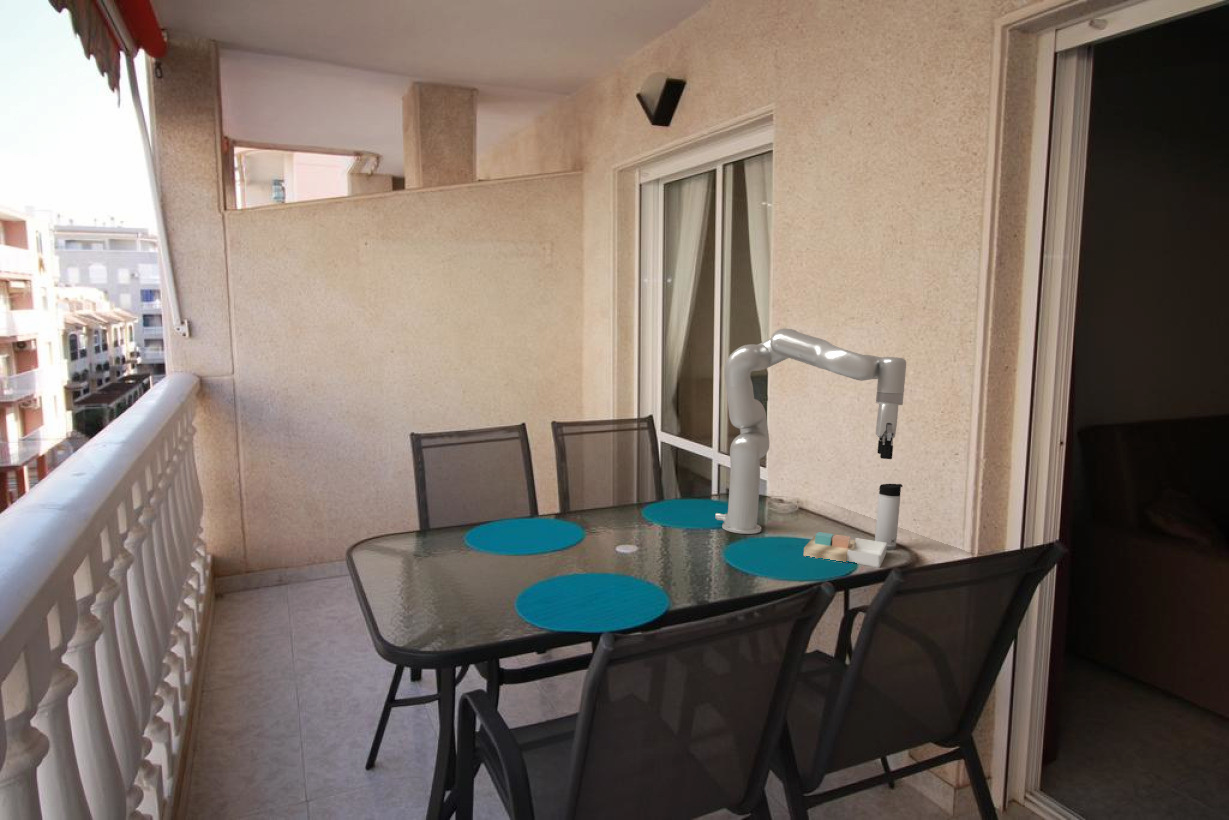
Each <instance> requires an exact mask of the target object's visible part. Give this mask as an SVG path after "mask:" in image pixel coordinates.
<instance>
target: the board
mask: <svg viewBox="0 0 1229 820" xmlns="http://www.w3.org/2000/svg"><path fill="white" fill-rule="evenodd" d="M854 548H855V539H851V540H850V546H849V547H848V549H847V548H841V547H835V546H832V544H831V545H830V546H828V545H822V544H816V543H815V535H814V536H813V537H812V538H811V539H810V540H809V541H808V543H806V545H805V546H804V547H803V557H806V556H810V557H809V558H812V557H815V558H814V559H818V558H823V559H822V560H824V559H830V560H836V561H843V562H846V561H847V551H848V550H852V551H853V550H854ZM830 560H829V561H830ZM836 561H835V562H836ZM846 563H847V562H846Z"/></svg>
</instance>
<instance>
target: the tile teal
mask: <svg viewBox="0 0 1229 820" xmlns="http://www.w3.org/2000/svg"><path fill="white" fill-rule="evenodd" d="M834 535H835V534H834V533H828V532H821V531H818V532H816V534H815V535H814V536H815V543H816V544H822V545H828V546H830V545H831V544H832V539H833V537H834Z"/></svg>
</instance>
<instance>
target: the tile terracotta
mask: <svg viewBox="0 0 1229 820" xmlns="http://www.w3.org/2000/svg"><path fill="white" fill-rule="evenodd" d="M851 538H852V537H851V536H849V535H843V534H842V535H841V534H834V535H833V539H832V546H835V547H841V548H847V549H848V547H849V546H850V540H852V539H851Z"/></svg>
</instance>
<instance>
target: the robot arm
mask: <svg viewBox="0 0 1229 820" xmlns="http://www.w3.org/2000/svg"><path fill="white" fill-rule="evenodd" d="M788 359H790V360H794V361H798V362H801V363H804V364H806V365H809V366H812V367H816V368H818V369H821V370H825V371H828V372H831V373H834V374H837V375H839V376H843V377H846V378H849V379H853V380H856V381H862V382H863V381H869V380H877V385H876V398H875V403H876V404H879V405H878V408H877V418H876V427H875V435H876V436H877V437H878V438H879V439H878V441H877V442H878V443H877V454H878V455H880V456H879V458H880V459H883V460H892V459H893V452H894V450H893V449H894V445H893V444H894V438H896V434H897V425H898V415H899V406H903V403H904V393H905V383H906V382H905V381H906V373H907V361H906V359H905V358H903V357H895V356H883V357H882V356H881V357H880V356H878V355H877V356H876V355H870V354H861V353H857V352H855V351H851V350H847V349H844V348H842V347H838V346H837V345H833V344H832V343H830V342H829V341H828V340H825V339H822V338H819V337H816V336H812V335H809V334H805V333H802V332H799V331H797V330H795V329H792V328H780V329H777V330H776V331H774V332H773V333H772V334H771V337H769V339H766V340H764V341H762V342H761V343H758V344H755V343H753V344H744V345H742V346H740V347H738V348H736V349H735V350H733V352H731V353H730V355H728V357H727V359H726V362H725V366H724V381H725V389H726V399H727V408H728V416H729V420H730V421H729V422H730V423H731V425H732V426H733V427H734V428H736V429H739V431H740V433H739V435H737V436H736V437H734V439H733V440H732V442H731V444H730V447H729V457H730V458H729V460H730V463H729V464H730V473H729V474H730V475H729V491H728V505H727V508H728V509H727V512H726V513H724V514H723V513H718V512H716V513H715V516H714V517H715V519H716V521H723V522H722V526H721V527H722V529H723V530H725V531H727V532H731V533H734V534H743V535H751V534H752V535H753V534H754V535H755V534H759V533H760V532H762V526H761V525H759V524H758V512H759V501H760V500H759V499H760V498H759V497H760V486H761V483H760V482H761V464H760V459H761V458H762V459H763V457H765V455H767V453H768V452H769V450H770V434H769V425H768V420H767V412H766V410H765V407H764V405H763V404H762V402H761V401H759V400H758V399H756V398H755V394H754V386H753V381H752V378H751V373H752V372H756V371H759V372H760V371H763V370H767V369H768V368H771V367H772V366H775V365H776V364H779V363H781V362H783V361H786V360H788Z"/></svg>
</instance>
